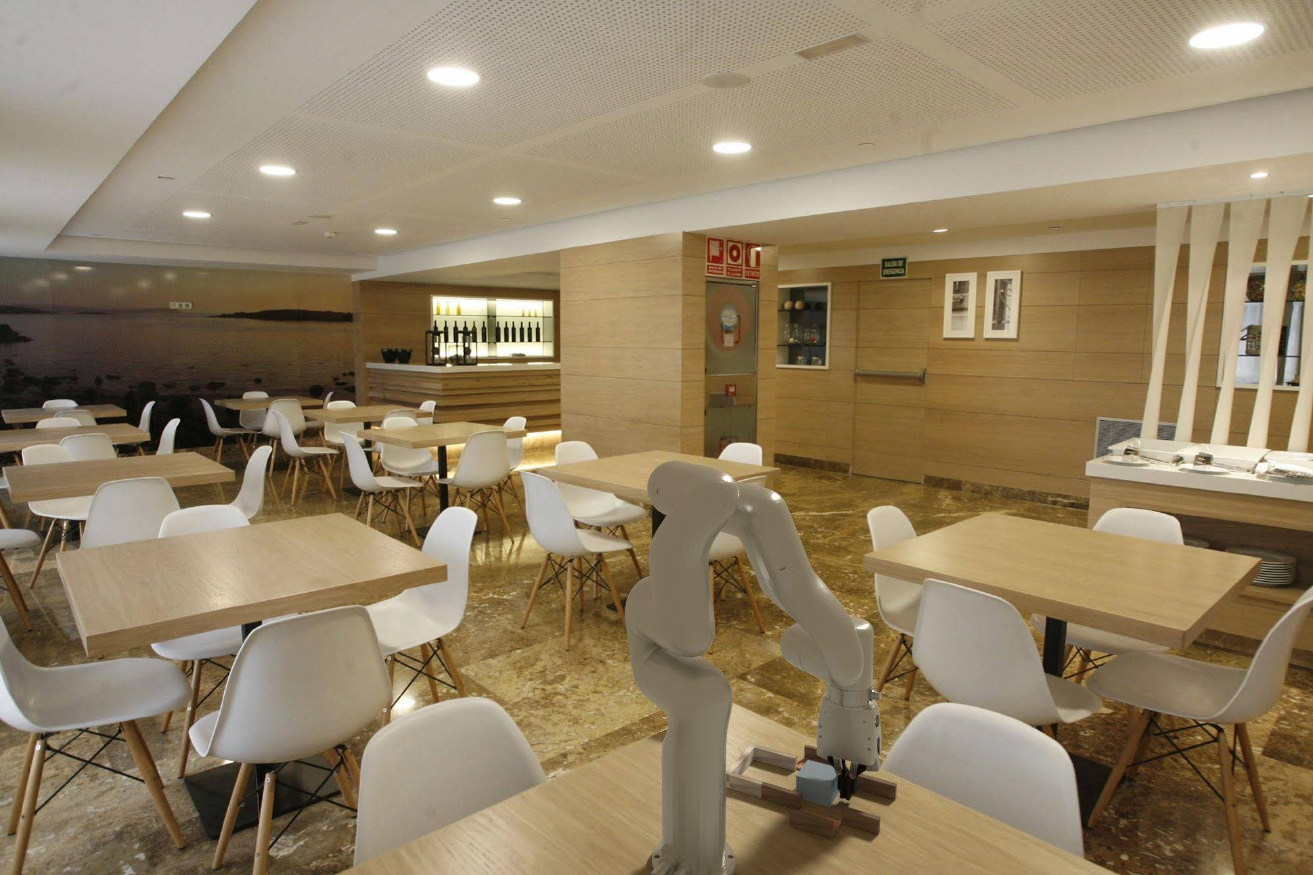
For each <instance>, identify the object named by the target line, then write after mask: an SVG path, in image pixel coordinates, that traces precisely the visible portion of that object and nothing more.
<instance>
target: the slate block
mask: <svg viewBox="0 0 1313 875" xmlns="http://www.w3.org/2000/svg"><path fill="white" fill-rule="evenodd" d="M837 777H838V775H837V774H836V773H835V769H834V768H833V766H830V765H826V764H822V763H818V762H815V761H811V760H807V762H806V763H805V764H804V766H803V767H802V768H801V770H799V771H798V772H797V773H796V775H795V791H796V792H800V793H802V801H807V802H810V803H813V804H816V805H820V806H823V807H827V808H831V806H832V805H833V803H834V802H835V800H836V798H837V797H838V795H839V794H840V790H838V789H837Z"/></svg>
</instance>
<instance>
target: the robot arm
mask: <svg viewBox="0 0 1313 875" xmlns="http://www.w3.org/2000/svg"><path fill="white" fill-rule="evenodd" d="M646 485H647V486H646V491H647V496H648V498H649V501H650V503H651V505H652V506H653V507H654V508H655V509H656V510H657V511H658V512H660V513H661V514H663V515H665V517H664V519H663V520H662V521H661V524H659V527H658V528H657V529H656V531H655V533H654V534H653V537H652V539H651V543H650V545H649V550H648V571H649V573H648V574H649V575H648V576H646V577H643V578H641V579H640V580H638V581H637V582H636V584H634V586H633V587H632V588H631V589H630V591H629V594H628V597H627V599H626V602H625V607H624V622H625V630H626V636H627V644H628V650H629V651H628V652H629V656H630V664H631V665H630V666H631V670H632V671H631V672H632V676H633V680H634V681H635V685H636V687H637V689H638V690H639V691H640V693H641V694H642V695H643V696H644V697H646V699H647V700H648V701H650V702H651V703H652V704H653V705H655V706H656V707H657V708H659V709H660V710H661V711H663V713H664V714H666V716H667V717H668V727H667V728H668V729H667V730H666V733H665V736H664V738H663V741H662V746H661V840H660V841H659V842H658V843H657V844H656V845H655V846H654V848H653V851H652V855H651V867H652V871H651V872H650V874H649V875H734V874H735V871H736V868H737V856H736V853H735V851H734V849H733V848H732V846H731V845H730V844H729V843H728V842H727V839H726V838H727V835H726V833H727V787H726V771H727V741H728V740H727V737H728V728H729V723H730V718H731V714H732V708H733V703H734V694H733V693H734V692H733V689H732V685H731V683H730V681H729V679H728V678H727V676H726V675H725V674H724V672H722V670H721V671H720V668H718V667H717V666H716V665H715V664H713V663H712V662H710V661H709V660H707V659H705V658H704V657H702V655H703V654H705V653H706V652H707V651H708V650H709V649H710V647H711V646H712V644H713V642H714V638H715V634H716V621H715V620H716V619H715V613H714V612H715V611H714V603H713V597H712V588H711V580H710V567H709V566H710V564H709V562H710V561H709V558H710V557H709V556H710V553H711V552H710V551H711V549H712V546H713V544H714V542H715V540H716V538H717V537H718V535H719V534H720V533H724V534H727V535H730V536H733V537H736V538H738V540H740V542H741V544H742V547H743V549H744V550H743V551H745V554H746V556H747V559H748V561H749V564H750V565H751V567H752V570H753V572H754V575H755V577H756V580H757V583H758V585H759V587H760V589H761V591H762V592H763V593H764V595H765V596H766V597H767V598H768V599H770V601H771V602H772V603H773V604H775V605H776V606H777V607H778V608H779V609H780V610H782V611H783V613H785V614H787V615H788V616H789V617H791V619H793V620H794V621H795V622H796V623H794V624H792V625H790V626H789V627H787V628H786V629H785V631H784V632H783V633H782V634H781V637H780V641H779V648H780V649H779V650H780V652H781V655H782V657H783V658H784V659H785V660H786V661H787V663H789V664H791V665H792V666H793V667H795V668H797V669H799V670H801V671H803V672H805V673H807V674H809V675H811V676H813V677H815V678H817V679H818V680H821V681H823V682H824V683H826V690H825V692H824V693H823V695H822V698H821V703H820V707H819V712H818V713H819V714H818V720H817V728H816V747H817V751H816V753H817V755H818V756H820V757H822V758H824V759H826V760H828V761H829V763H830V764H831V765H832V766H833V768H834V769H835V773H836V774H837V775H838V777H837V789H838V790H840V792H839V799H840V800H841V799H842V800H843V799H845V800H846V801H848V802H850V801H851V799H852V797H853V796H855V795H856V794H857V792H858V789H857V782H858V775H860V774H863V773H864V772H872V773H874V772H876V773H878V772H879V770H880V768H881V766H882V765H881V761H880V758H879V756H881V753H882V749H883V748H882V746H883V745H882V744H883V743H882V742H883V741H882V725H881V713H880V709H879V705H878V701H881V699H882V691H878V690H876V689H875V687H874V686H875V684H874V650H875V648H874V647H875V646H874V645H875V644H874V643H875V641H874V639H875V634H874V633H875V632H874V627H873V625H872V624H871V623H870V622H869V621H868V620H867V619H864V618H860V617H858V616H850V614H849V613H848V612H847V610H846V608H845V607H844V606H843V605H842V603H841V602H840V601H839V599H838V598H837V597H836V596H835V594H834V593H833V592H832V591H831V589H830V588H829V587H828V586H827V585H826V583H825V582H824V580H822V578H821V577H820V576H818V574H817V573H816V572H815V571H814V569H813V568H812V566H811V563H810V561H809V558H808V556H807V552H806V549H805V548H804V545H803V543H802V541H801V540H802V539H801V538H800V535H799V533H798V530H797V529H798V528H797V527H796V524H795V522H794V519H793V517H792V514H791V512H790V510H789V507H788V505H787V502H786V501H785V499H784V498H783V497H782V496H781V495H780V494H779V493H778V492H776V491H774V490H772V489H770V488H767V487H763V486H759V485H755V484H750V483H746V482H741V481H738V480H737V481H736V480H735V479H734V478H733V477H732V476H731V474H729V473H727V472H725V471H723V470H721V469H718V468H714V467H710V466H707V465H702V464H697V463H696V464H695V463H691V462H686V461H682V460H669V461H665V462H663V463H661V464H659V465H658V466H657V467H655V468H654V469H653V471H652V472H651V473H650V475H649V478H648V479H647V484H646ZM847 761H848V762H850V766H849V768H848V764H847Z"/></svg>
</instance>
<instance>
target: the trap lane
mask: <svg viewBox="0 0 1313 875" xmlns="http://www.w3.org/2000/svg"><path fill="white" fill-rule="evenodd" d="M803 750H804V751H803V752H804V755H803V759H801V761H800V762H799V764H798V755H795V754H790V753H788V752H784V751H780V750H776V749H772V748H769V747H766V746H762V745H759V744H754V743H751V744H750V745H749V746H748V747H747V748H746V749H745V751H744V752H743V753H742V754H740V756H739V757H738V758H737V759H736V760H735V761H734V762H733V764H732V765H730V766H729V768H728V769H726V789H731V790H733V791H737V792H740V793H744V794H747V795H750V796H752V797H756V798H759V799H763V800H766V801H769V802H772V803H774V804H778V805H781V806H785V807H788V808H791V809H790V811H789V826H790V827H793V828H796V829H799V830H802V831H806V832H808V833H812V834H815V835H819V836H821V837H825V838H827V839H831V840H832V839H833V838H834V836H835V835H836V833H837V832H838V830H839V828H840V826H841V824H843V825H847V826H848V827H852V828H855V829H859V830H861V831H862V830H863V831H865V832H868V833H872V834H876V835H880V832H881V816H879V815H877V814H876V815H875V814H873V813H869V812H867V811H863V810H859V809H856V808H853V807H849V806H845V805H843V806H842V807H841V811H840V812H841V813H840V814H841V816H840V818H841V820H838V819H835V818H831V817H828V816H825V815H823V814H822V815H821V814H818V813H816V812H812V811H809V810H806V809H802V808H803V799H802V793H800V792H796V790H793V789H789V788H786V787H783V786H779V785H775V784H773V783H770V782H767V781H762V780H759V779H756V778H752V777H749V776H747V775H746V776H745V775H743V774H744V772H746V770H747V769H748V768H749V767H750V765H751V764H752V763H753V762H754V761H757V762H761V763H763V764H768V765H771V766H775V767H778V768H781V769H785V770H788V771H792V772H796V771H797V770H799V771H800V770H801V768H802V767H803V766H804V764H805V763H806V762H807V760H811V761H815V762H818V763H822V764H826V765H830V766H832V765H831V764H830V763H829V761H828V760H826V759H824V758H822V757H820V756H818V755H817V753H816V751H817V746H813V745H810V744H805V745H804V748H803ZM897 787H898V784H897V783H896V782H892V781H889V780H886V779H883V778H879V777H875V776H871V775H867V774H863V773H861V774H860V775H858V782H857V791H858V790H859V791H863V792H866V793H868V794H872V795H876V796H879V797H883V798H886V799H889V800H892V801H893V800H894V801H896V799H897V792H898V791H897V790H898V788H897Z"/></svg>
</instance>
